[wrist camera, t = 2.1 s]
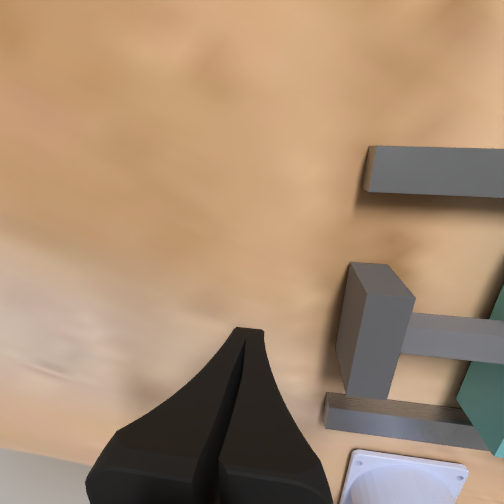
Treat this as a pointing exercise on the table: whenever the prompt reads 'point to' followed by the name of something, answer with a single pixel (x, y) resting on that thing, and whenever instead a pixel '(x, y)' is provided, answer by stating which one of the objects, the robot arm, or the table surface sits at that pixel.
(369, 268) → the sliding jaw
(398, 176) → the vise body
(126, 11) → the table surface
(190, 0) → the table surface
